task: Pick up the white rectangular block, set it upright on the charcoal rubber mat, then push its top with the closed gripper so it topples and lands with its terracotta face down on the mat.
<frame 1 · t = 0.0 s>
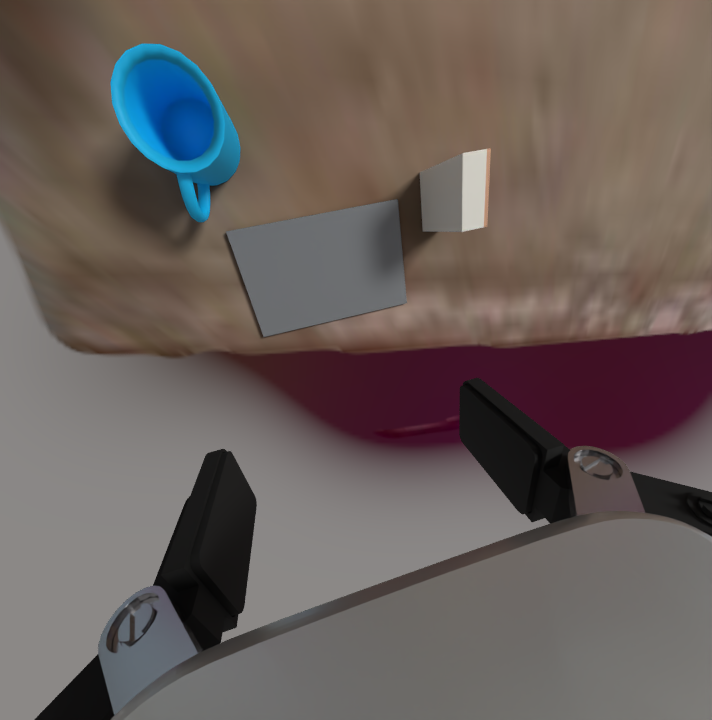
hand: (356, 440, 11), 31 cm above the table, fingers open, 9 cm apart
mug: (203, 163, 30), on the table
mat: (326, 271, 38), on the table
white rectangular block: (431, 201, 37), on the table
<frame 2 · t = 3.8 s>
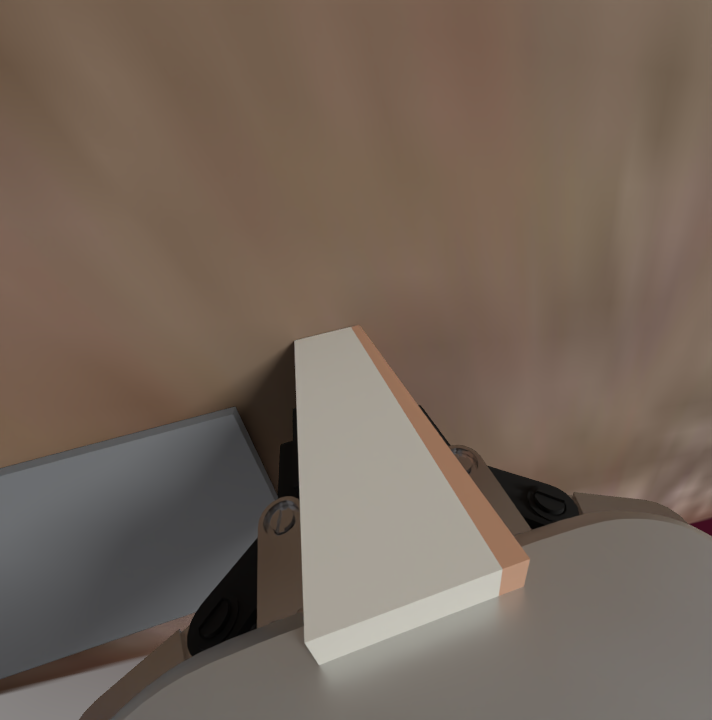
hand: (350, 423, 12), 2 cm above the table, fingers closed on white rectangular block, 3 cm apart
mat: (78, 562, 15), on the table
white rectangular block: (342, 395, 14), on the table, touching gripper
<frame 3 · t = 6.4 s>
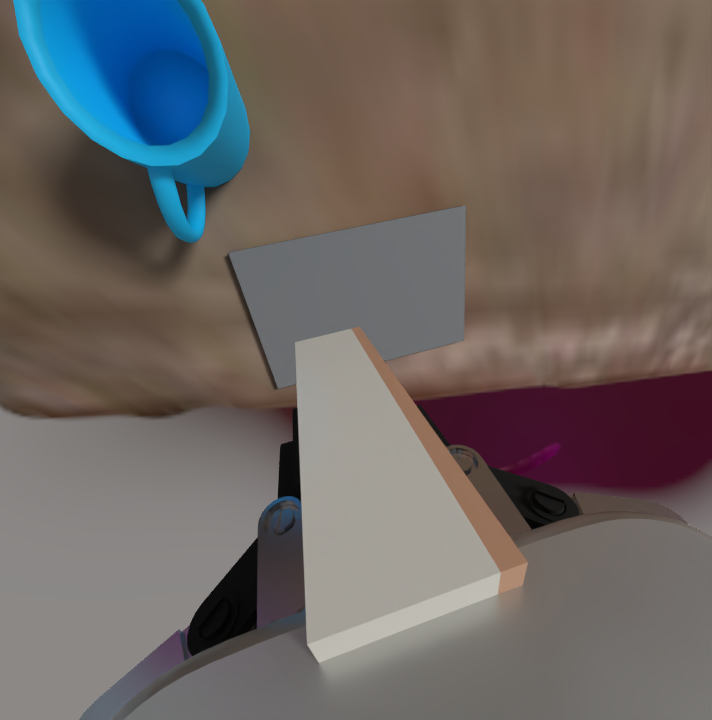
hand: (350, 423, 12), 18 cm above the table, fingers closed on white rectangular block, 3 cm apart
mug: (195, 154, 21), on the table
mat: (363, 302, 28), on the table
white rectangular block: (342, 396, 14), point 15 cm above the table, touching gripper
when the fingers open (4 cm above the table, at t = 9.1 s): white rectangular block stays where it is, resting on mat.
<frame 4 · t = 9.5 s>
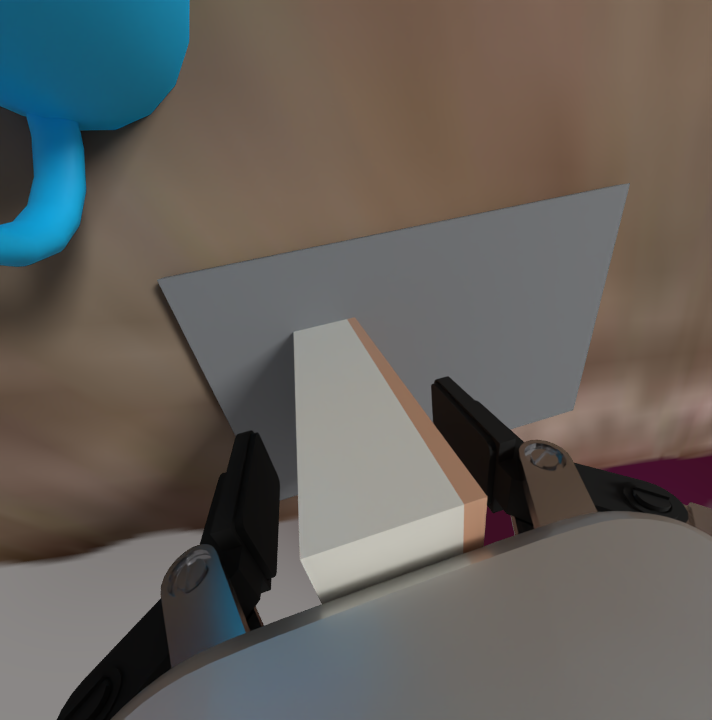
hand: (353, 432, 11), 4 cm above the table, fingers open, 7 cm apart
mug: (53, 44, 8), on the table
mat: (421, 359, 16), on the table
white rectangular block: (339, 385, 15), point 1 cm above the table, touching mat
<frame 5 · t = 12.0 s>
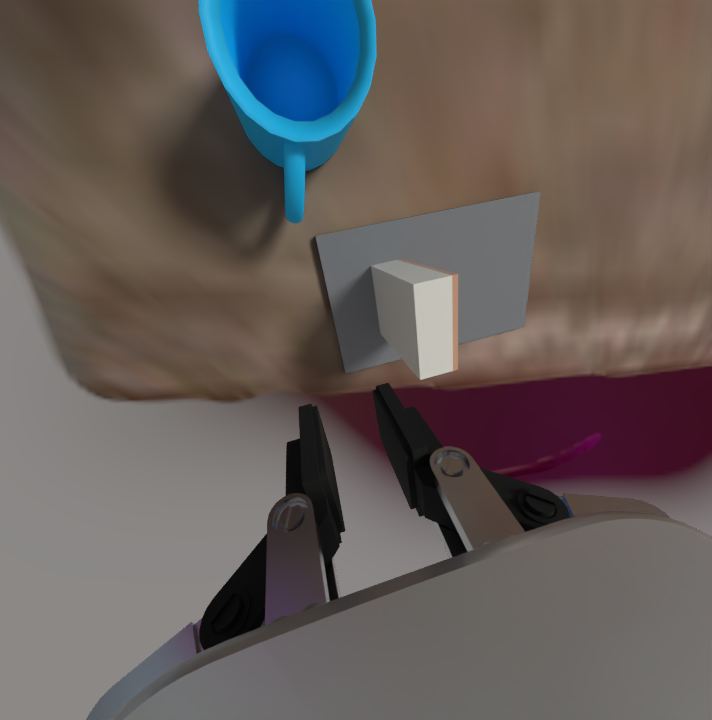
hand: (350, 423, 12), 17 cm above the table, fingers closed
mug: (293, 138, 21), on the table
mat: (433, 287, 28), on the table
white rectangular block: (390, 298, 27), point 1 cm above the table, touching mat
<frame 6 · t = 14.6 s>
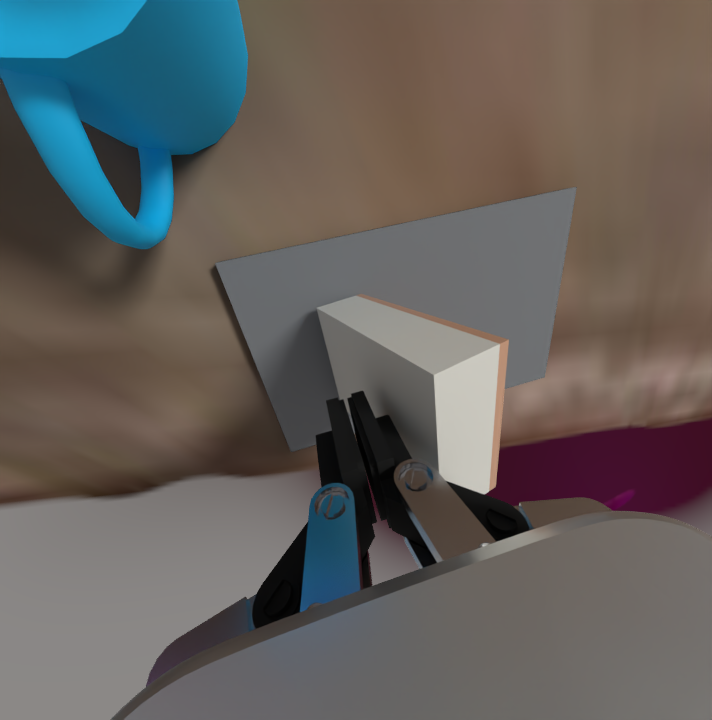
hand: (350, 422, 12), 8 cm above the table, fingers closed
mug: (153, 96, 12), on the table
mat: (415, 330, 19), on the table
white rectangular block: (350, 352, 18), point 1 cm above the table, tilted 14°, touching gripper, mat
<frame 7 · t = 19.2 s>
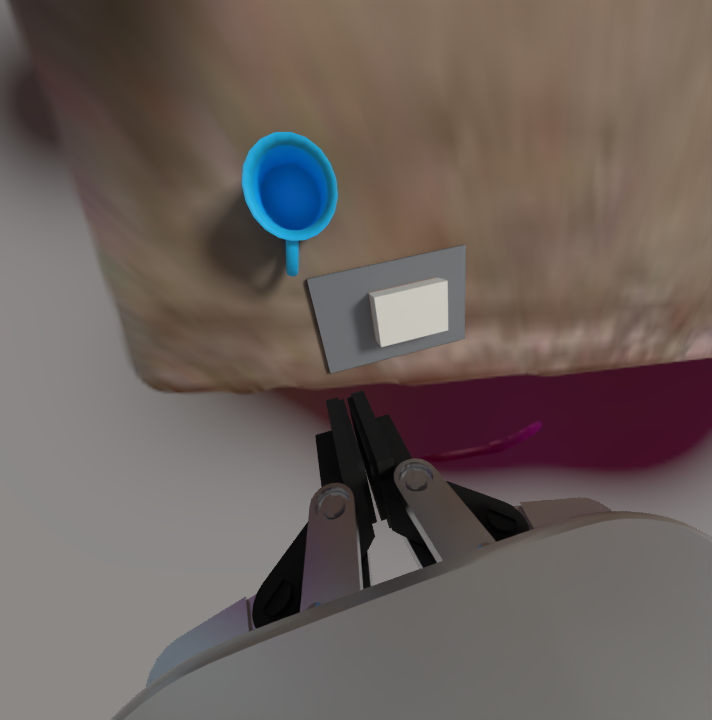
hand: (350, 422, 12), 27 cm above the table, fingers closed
mug: (291, 218, 32), on the table
mat: (393, 311, 39), on the table
white rectangular block: (374, 320, 37), point 2 cm above the table, tilted 90°, touching mat
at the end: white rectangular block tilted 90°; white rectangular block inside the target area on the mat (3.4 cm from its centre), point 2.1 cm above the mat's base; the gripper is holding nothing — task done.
